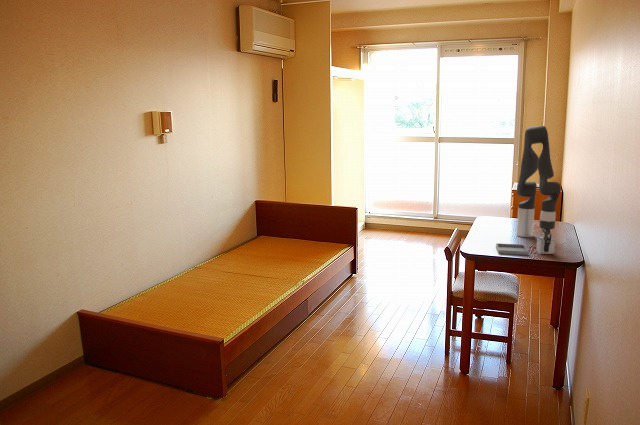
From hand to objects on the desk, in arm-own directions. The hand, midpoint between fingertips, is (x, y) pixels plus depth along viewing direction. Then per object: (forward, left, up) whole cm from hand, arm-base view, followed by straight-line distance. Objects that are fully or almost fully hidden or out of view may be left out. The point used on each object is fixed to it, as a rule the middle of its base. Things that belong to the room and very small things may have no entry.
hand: (545, 250), depth 282 cm
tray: (0, -17, -2) cm, 17 cm away
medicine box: (0, 0, -2) cm, 2 cm away
